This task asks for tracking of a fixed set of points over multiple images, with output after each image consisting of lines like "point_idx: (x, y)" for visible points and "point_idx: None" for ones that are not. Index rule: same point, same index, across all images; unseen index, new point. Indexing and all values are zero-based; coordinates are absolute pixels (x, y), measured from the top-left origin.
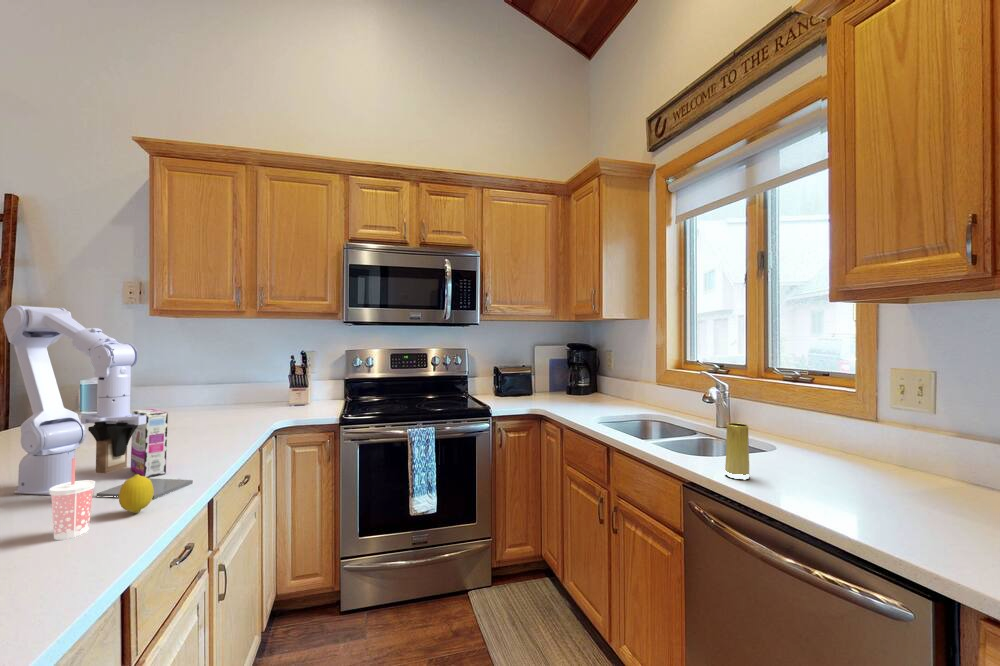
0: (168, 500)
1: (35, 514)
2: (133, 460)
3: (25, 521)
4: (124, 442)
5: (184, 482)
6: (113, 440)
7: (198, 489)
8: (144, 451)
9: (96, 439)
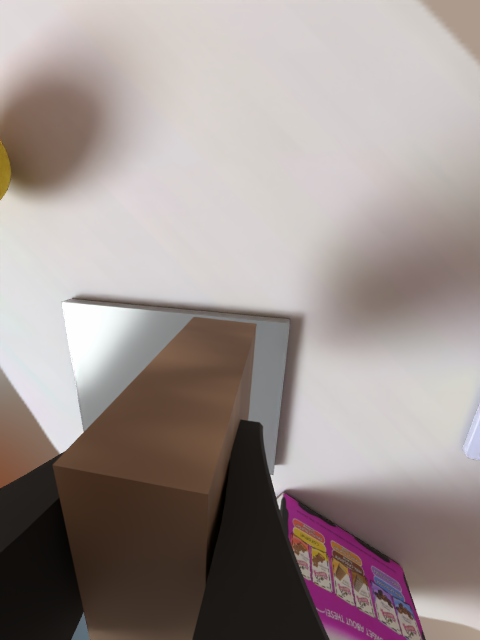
0: (22, 292)
1: (370, 111)
2: (390, 602)
3: (338, 20)
4: None
5: (88, 423)
6: (12, 506)
7: (29, 385)
8: None
9: (273, 570)
